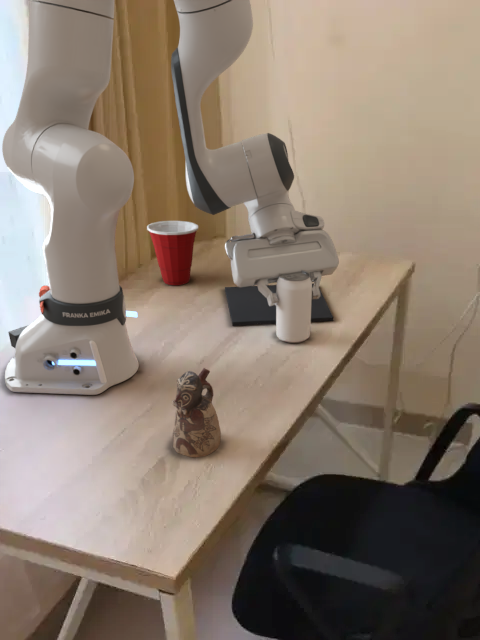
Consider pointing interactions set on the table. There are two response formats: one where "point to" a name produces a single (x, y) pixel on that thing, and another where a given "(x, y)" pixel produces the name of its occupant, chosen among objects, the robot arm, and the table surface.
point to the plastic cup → (174, 249)
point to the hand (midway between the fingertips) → (295, 301)
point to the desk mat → (265, 306)
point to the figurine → (195, 416)
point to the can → (293, 307)
